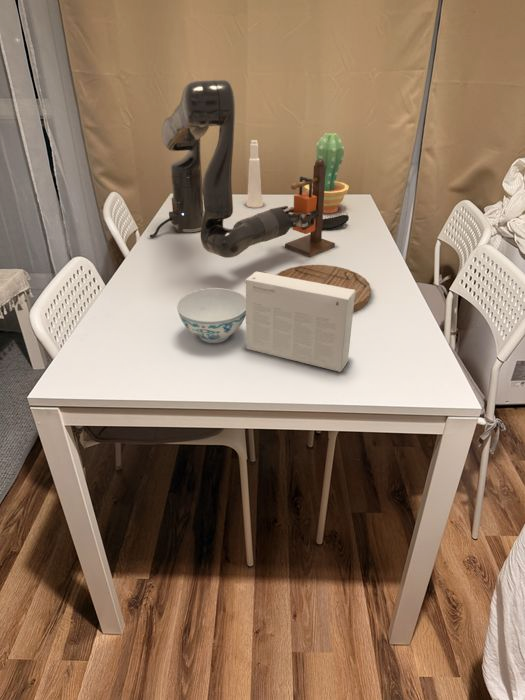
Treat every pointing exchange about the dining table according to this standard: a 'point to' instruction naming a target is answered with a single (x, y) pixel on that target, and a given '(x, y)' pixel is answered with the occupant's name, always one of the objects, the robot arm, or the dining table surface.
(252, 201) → the cosmetic bottle
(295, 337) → the skincare box
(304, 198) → the orange handled weight
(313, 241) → the hook stand
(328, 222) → the hairbrush
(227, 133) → the robot arm
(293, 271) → the trivet
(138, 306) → the dining table surface
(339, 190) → the potted cactus
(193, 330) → the chinaware
